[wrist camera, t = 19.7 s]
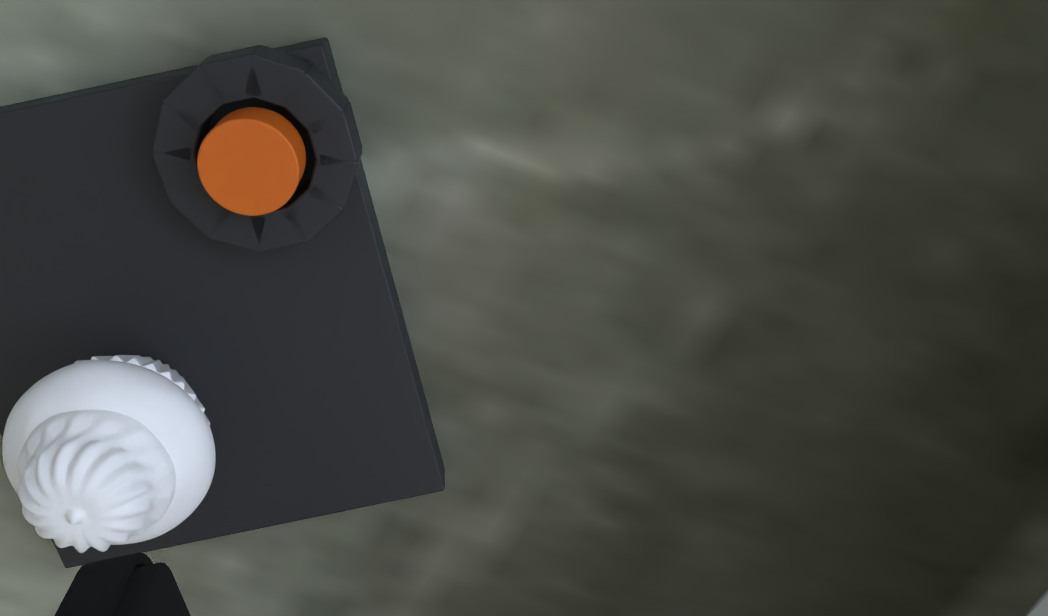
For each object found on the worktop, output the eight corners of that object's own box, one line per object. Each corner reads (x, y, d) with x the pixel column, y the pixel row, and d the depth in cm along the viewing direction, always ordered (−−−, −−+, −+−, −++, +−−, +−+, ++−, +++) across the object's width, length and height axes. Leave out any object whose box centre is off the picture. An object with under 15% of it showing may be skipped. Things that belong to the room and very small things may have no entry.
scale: (-122, 120, 30) (-178, 144, 28) (335, 22, 30) (324, 37, 28) (78, 545, 37) (49, 598, 34) (454, 467, 37) (455, 515, 34)
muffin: (28, 319, 32) (-77, 432, 26) (221, 308, 32) (166, 416, 26) (69, 482, 34) (-17, 622, 28) (248, 470, 35) (204, 606, 28)
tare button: (195, 117, 29) (182, 130, 27) (290, 97, 28) (282, 109, 27) (225, 208, 30) (215, 225, 28) (317, 189, 30) (311, 205, 28)
